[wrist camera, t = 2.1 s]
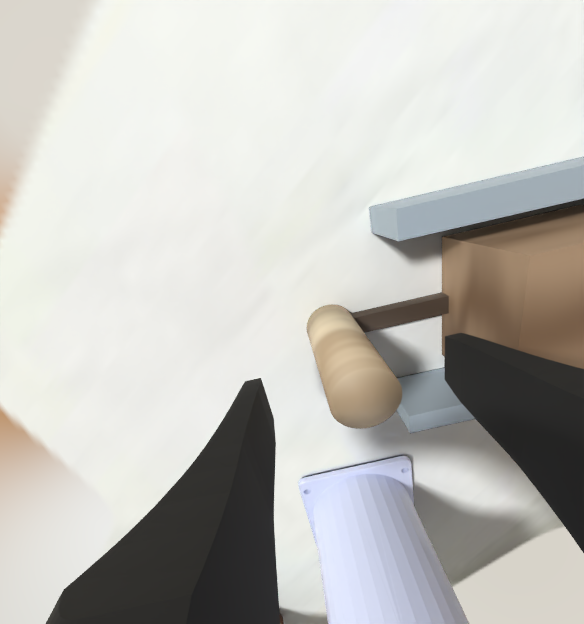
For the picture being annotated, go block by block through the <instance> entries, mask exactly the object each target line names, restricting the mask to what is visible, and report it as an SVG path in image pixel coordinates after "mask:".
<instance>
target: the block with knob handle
mask: <svg viewBox="0 0 584 624" xmlns="http://www.w3.org/2000/svg"><path fill="white" fill-rule="evenodd" d="M438 315H442V355H443V356H445V336H448V335H453V334H457V333H464V334H468V335H472V336H475V337H478V338H482V339H485V340H488V341H491V342H494V343H497V344H500V345H503V346H506V347H509V348H513V349H516V350H519V351H522V352H525V353H528V354H532V355H535V356H538V357H542V358H545V359H548V360H552V361H556V362H559V363H563V364H566V365H570V366H574V367H578V368H582V369H584V205H577V206H573V207H568V208H564V209H560V210H556V211H551V212H547V213H543V214H538V215H534V216H530V217H525V218H521V219H517V220H513V221H508V222H504V223H500V224H495V225H491V226H487V227H482V228H478V229H474V230H470V231H465V232H461V233H457V234H452V235H448V236H444V237H442V293H437V294H433V295H429V296H424V297H420V298H416V299H411V300H407V301H403V302H398V303H394V304H390V305H385V306H381V307H377V308H372V309H368V310H364V311H359V312H355V313H351V314H350V313H349V311H348V310H347V309H345V308H344V307H342V306H339V305H326V306H323V307H320V308H319V309H317V310H316V311H315V312H313V314H312V315H311V316H310V318H309V320H308V323H307V333H308V336H309V340H310V343H311V346H312V350H313V353H314V357H315V360H316V363H317V367H318V370H319V374H320V377H321V380H322V384H323V387H324V391H325V394H326V397H327V401H328V404H329V408H330V411H331V413H332V415H333V417H334V418H335V419H336V420H337V421H338V422H339V423H341V424H343V425H345V426H347V427H351V428H369V427H373V426H376V425H378V424H380V423H382V422H384V421H386V420H387V419H388V418H390V417H391V416H392V415H393V414H394V413H395V411H396V410H397V409H398V407H399V405H400V403H401V400H402V387H401V384H400V382H399V381H398V379H397V378H396V376H395V375H394V374H393V372H392V371H391V369H390V368H389V367H388V365H387V364H386V363H385V361H384V360H383V358H382V357H381V356H380V354H379V353H378V351H377V350H376V349H375V347H374V346H373V344H372V343H371V342H370V340H369V339H368V338H367V336H366V335H365V332H369V331H373V330H378V329H382V328H386V327H391V326H395V325H399V324H404V323H408V322H412V321H417V320H421V319H425V318H430V317H434V316H438Z"/></svg>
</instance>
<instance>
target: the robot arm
mask: <svg viewBox="0 0 584 624" xmlns="http://www.w3.org/2000/svg"><path fill="white" fill-rule="evenodd" d="M445 381H446V382H447V384H448V385H449V387H450V388H451V390H452V391H453V393H454V394H455V395H456V397H457V398H458V399H459V401H460V402H461V403H462V404H463V405H464V407H465V408H466V409H467V410H468V411H469V412H470V413H471V414H472V415H473V416H474V418H475V419H476V420H477V421H478V422H479V423H480V424H481V425H482V426H483V427H484V428H485V429H486V430H487V431H488V433H489V434H490V435H491V436H492V437H493V438H494V439H495V440H496V441H497V442H498V443H499V444H500V445H501V447H502V448H503V449H504V450H505V451H506V452H507V453H508V454H509V455H510V456H511V458H512V459H513V460H514V461H515V462H516V463H517V464H518V466H519V467H520V468H521V469H522V471H523V472H524V473H525V474H526V476H527V477H528V478H529V480H530V481H531V482H532V483H533V485H534V486H535V487H536V488H537V490H538V491H539V492H540V494H541V495H542V496H543V498H544V499H545V500H546V502H547V503H548V504H549V506H550V507H551V508H552V510H553V511H554V512H555V514H556V515H557V516H558V518H559V519H560V520H561V522H562V523H563V525H564V526H565V527H566V529H567V530H568V531H569V533H570V534H571V535H572V537H573V538H574V540H575V541H576V542H577V544H578V545H579V547H580V548H581V550H582V551H583V553H584V369H582V368H578V367H574V366H570V365H566V364H563V363H559V362H556V361H552V360H548V359H545V358H542V357H538V356H535V355H532V354H528V353H525V352H522V351H519V350H516V349H513V348H509V347H506V346H503V345H500V344H497V343H494V342H491V341H488V340H485V339H482V338H478V337H475V336H472V335H468V334H464V333H457V334H453V335H448V336H445ZM275 446H276V442H275V430H274V418H273V415H272V412H271V409H270V405H269V402H268V399H267V396H266V393H265V390H264V387H263V384H262V380H261V378H258V379H254V380H250V381H245V383H244V384H243V386H242V388H241V390H240V391H239V393H238V395H237V397H236V399H235V400H234V402H233V404H232V406H231V407H230V409H229V411H228V412H227V414H226V416H225V417H224V419H223V421H222V422H221V424H220V425H219V427H218V429H217V430H216V432H215V433H214V434H213V436H212V437H211V439H210V440H209V442H208V443H207V445H206V446H205V448H204V449H203V450H202V452H201V453H200V455H199V456H198V457H197V459H196V460H195V461H194V462H193V464H192V465H191V466H190V467H189V469H188V470H187V471H186V472H185V473H184V475H183V476H182V477H181V478H180V479H179V480H178V481H177V483H176V484H175V485H174V486H173V487H172V488H171V489H170V490H169V491H168V492H167V494H166V495H165V496H164V497H163V498H162V499H161V500H160V501H159V502H158V504H157V505H156V506H155V507H154V508H153V509H152V510H151V511H150V512H149V513H148V514H147V515H146V516H145V517H144V518H143V519H142V520H141V521H140V522H139V523H138V524H137V525H136V526H135V527H134V528H133V529H131V530H130V531H129V532H128V533H127V534H126V535H125V536H124V537H123V538H122V539H121V540H120V541H119V542H118V543H117V544H116V545H115V546H113V547H112V548H111V549H110V550H109V551H108V552H107V553H106V554H104V555H103V556H102V557H101V558H100V559H99V560H98V561H96V562H95V563H94V564H93V565H92V566H91V567H90V568H88V569H87V570H86V571H85V572H84V573H83V574H82V575H80V576H79V577H78V578H77V579H76V580H75V581H74V582H72V583H71V584H70V585H69V586H68V587H67V588H65V589H64V591H63V592H62V594H61V596H60V598H59V600H58V601H57V603H56V605H55V608H54V609H53V611H52V613H51V615H50V617H49V618H48V621H47V622H46V624H280V615H279V601H278V587H277V571H276V556H275V537H274V479H275ZM299 490H300V493H301V496H302V500H303V503H304V506H305V509H306V512H307V516H308V519H309V522H310V525H311V529H312V532H313V535H314V538H315V542H316V545H317V548H318V554H319V561H320V568H321V576H322V583H323V590H324V597H325V605H326V612H327V619H328V624H469V622H468V620H467V618H466V616H465V614H464V611H463V609H462V607H461V605H460V603H459V601H458V599H457V597H456V594H455V592H454V590H453V588H452V586H451V584H450V582H449V579H448V577H447V575H446V573H445V571H444V569H443V567H442V565H441V562H440V560H439V558H438V556H437V554H436V552H435V550H434V548H433V545H432V543H431V541H430V539H429V537H428V535H427V533H426V531H425V528H424V526H423V524H422V522H421V520H420V518H419V516H418V514H417V511H416V509H415V507H414V497H413V481H412V465H411V461H410V459H409V458H408V457H407V456H399V457H395V458H390V459H386V460H381V461H377V462H372V463H367V464H363V465H358V466H354V467H349V468H345V469H340V470H336V471H331V472H327V473H322V474H318V475H313V476H309V477H304V478H302V479H300V480H299Z"/></svg>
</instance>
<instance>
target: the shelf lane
mask: <svg viewBox="0 0 584 624" xmlns="http://www.w3.org/2000/svg"><path fill="white" fill-rule="evenodd" d="M583 198H584V157H581V158H576V159H572V160H568V161H563V162H559V163H555V164H551V165H546V166H542V167H538V168H534V169H529V170H525V171H521V172H516V173H512V174H508V175H504V176H499V177H495V178H491V179H486V180H482V181H478V182H474V183H469V184H465V185H461V186H457V187H452V188H448V189H444V190H439V191H435V192H431V193H427V194H422V195H418V196H414V197H409V198H405V199H401V200H397V201H392V202H388V203H384V204H379V205H375V206H371V207H369V210H370V220H371V230H372V233H374V234H377V235H380V236H383V237H387V238H390V239H393V240H396V241H402V240H406V239H411V238H415V237H419V236H424V235H428V234H432V233H437V232H441V231H445V230H450V229H454V228H458V227H462V226H467V225H471V224H475V223H480V222H484V221H488V220H493V219H497V218H501V217H506V216H510V215H514V214H519V213H523V212H527V211H532V210H536V209H540V208H544V207H549V206H553V205H557V204H562V203H566V202H570V201H575V200H579V199H583ZM397 379H398V381H399V382H400V384H401V387H402V400H401V403H400V405H399V407H398V409H397V410H396V411H397V412H398V414H399V416H400V417H401V419H402V421H403V422H404V424H405V426H406V427H407V429H408V431H409V432H410V433H414V432H418V431H423V430H427V429H432V428H436V427H441V426H445V425H450V424H454V423H459V422H463V421H468V420H472V419H475V418H474V416H473V415H472V414H471V413H470V412H469V411H468V410H467V409H466V408H465V407H464V405H463V404H462V403H461V402H460V401H459V399H458V398H457V397H456V395H455V394H454V393H453V391H452V390H451V388H450V387H449V385H448V384H447V382H446V381H445V368H440V369H436V370H431V371H427V372H423V373H418V374H414V375H409V376H405V377H400V378H397Z"/></svg>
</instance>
